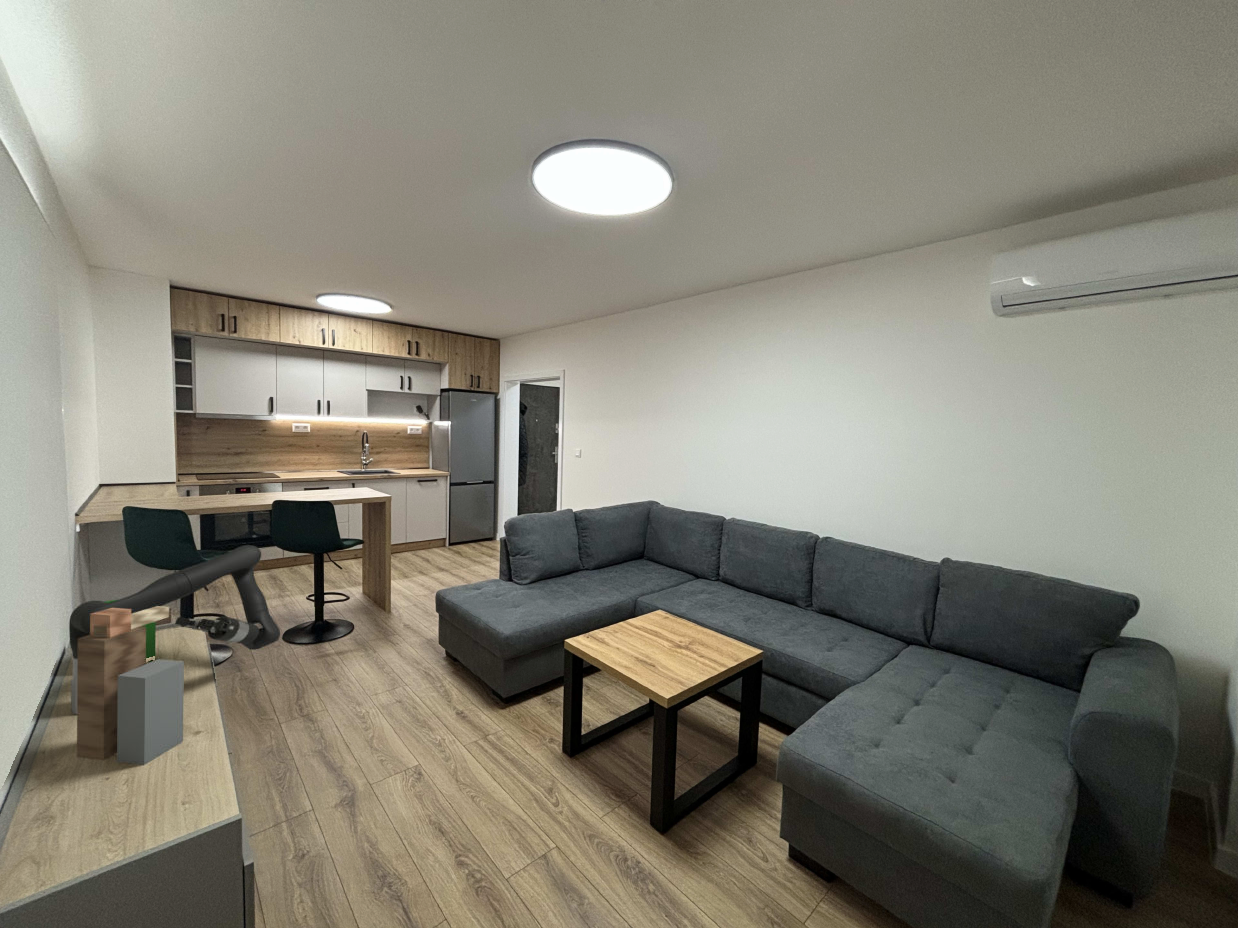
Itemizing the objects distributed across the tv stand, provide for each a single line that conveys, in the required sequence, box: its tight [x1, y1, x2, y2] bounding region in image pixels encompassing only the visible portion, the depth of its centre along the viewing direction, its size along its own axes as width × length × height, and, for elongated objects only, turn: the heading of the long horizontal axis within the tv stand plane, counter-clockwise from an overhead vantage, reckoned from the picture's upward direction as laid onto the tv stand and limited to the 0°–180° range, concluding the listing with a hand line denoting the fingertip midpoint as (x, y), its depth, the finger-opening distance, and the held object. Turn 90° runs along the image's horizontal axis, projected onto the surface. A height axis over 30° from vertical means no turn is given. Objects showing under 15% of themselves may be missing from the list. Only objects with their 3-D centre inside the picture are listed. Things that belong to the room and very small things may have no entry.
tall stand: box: [76, 626, 147, 761], centre depth 130 cm, size 10×8×32 cm
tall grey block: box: [116, 658, 185, 765], centre depth 129 cm, size 10×8×23 cm
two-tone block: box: [90, 605, 170, 637], centre depth 135 cm, size 16×6×6 cm, turn 174°
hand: (189, 621), depth 151 cm, fingers open, 8 cm apart
